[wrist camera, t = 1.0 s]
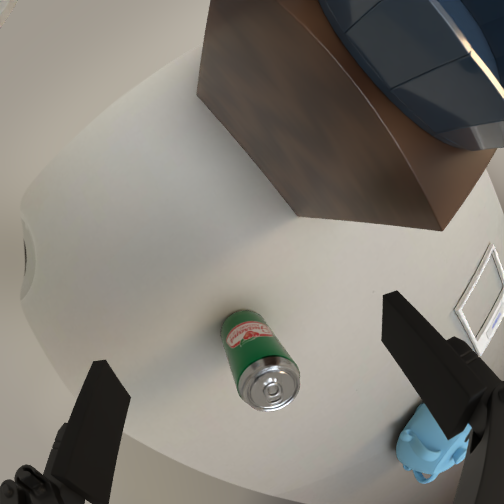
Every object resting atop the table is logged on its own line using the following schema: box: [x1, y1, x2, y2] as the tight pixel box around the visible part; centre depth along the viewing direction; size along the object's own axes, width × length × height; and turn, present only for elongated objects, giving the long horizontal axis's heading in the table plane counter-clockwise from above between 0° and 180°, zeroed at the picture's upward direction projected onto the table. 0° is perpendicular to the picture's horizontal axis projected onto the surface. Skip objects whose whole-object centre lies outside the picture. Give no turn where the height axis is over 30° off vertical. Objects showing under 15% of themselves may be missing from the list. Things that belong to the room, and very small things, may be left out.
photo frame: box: [454, 243, 504, 356], centre depth 41 cm, size 15×1×18 cm
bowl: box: [318, 0, 504, 151], centre depth 8 cm, size 15×15×5 cm
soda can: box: [221, 311, 300, 412], centre depth 26 cm, size 5×5×12 cm
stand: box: [197, 0, 497, 231], centre depth 20 cm, size 17×17×20 cm
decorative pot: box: [396, 403, 472, 484], centre depth 36 cm, size 16×16×14 cm
